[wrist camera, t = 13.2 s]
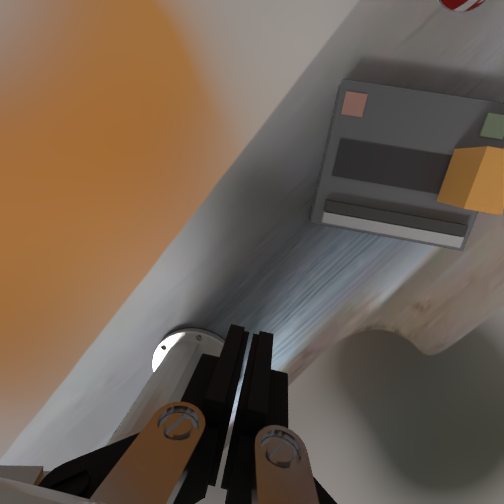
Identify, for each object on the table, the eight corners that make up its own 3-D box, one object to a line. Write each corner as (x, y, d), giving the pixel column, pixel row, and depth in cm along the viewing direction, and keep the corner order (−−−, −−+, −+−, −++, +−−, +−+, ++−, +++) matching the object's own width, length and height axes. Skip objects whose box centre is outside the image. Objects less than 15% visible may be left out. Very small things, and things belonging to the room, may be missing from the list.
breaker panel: (448, 243, 34) (468, 253, 30) (309, 217, 35) (311, 224, 31) (498, 110, 30) (529, 103, 26) (338, 86, 31) (345, 75, 27)
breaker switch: (467, 206, 30) (500, 215, 25) (436, 201, 30) (463, 208, 25) (487, 154, 28) (527, 152, 23) (454, 148, 28) (487, 146, 24)
